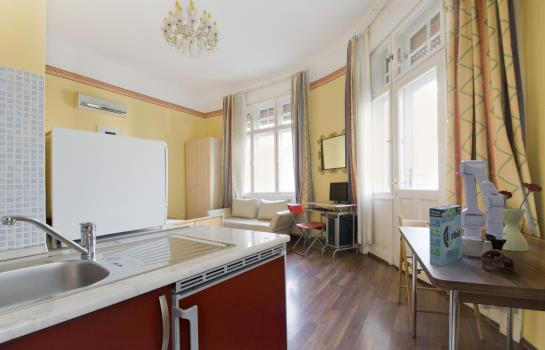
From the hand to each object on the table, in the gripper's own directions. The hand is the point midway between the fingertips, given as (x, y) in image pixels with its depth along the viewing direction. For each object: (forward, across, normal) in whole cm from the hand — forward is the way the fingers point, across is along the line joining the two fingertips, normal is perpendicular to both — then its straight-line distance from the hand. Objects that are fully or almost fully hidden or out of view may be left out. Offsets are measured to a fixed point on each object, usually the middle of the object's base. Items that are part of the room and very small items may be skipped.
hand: (495, 252), depth 110 cm
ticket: (+1, 0, +6) cm, 7 cm away
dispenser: (+2, 0, +11) cm, 11 cm away
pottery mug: (+2, -18, +3) cm, 19 cm away
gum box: (+2, -17, +19) cm, 26 cm away
